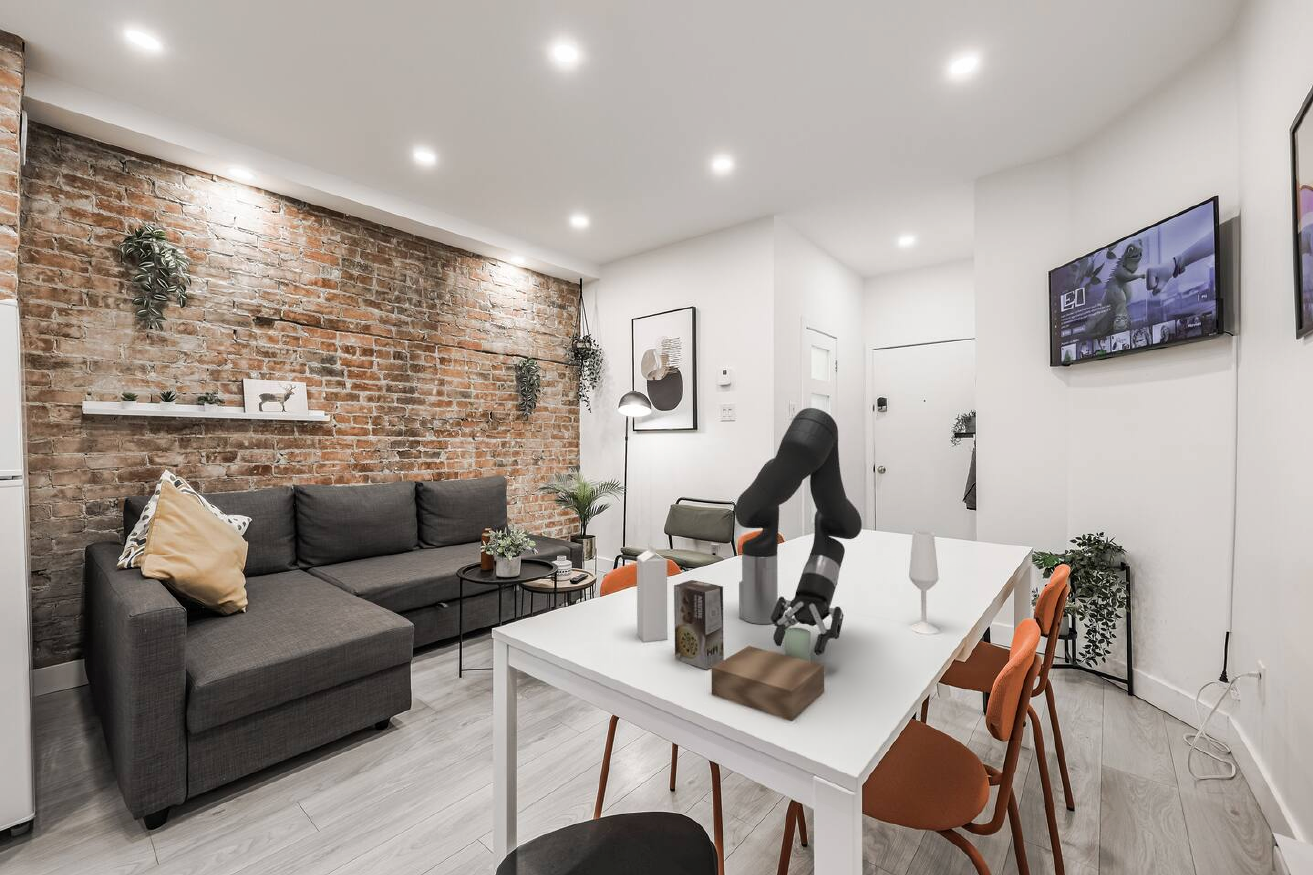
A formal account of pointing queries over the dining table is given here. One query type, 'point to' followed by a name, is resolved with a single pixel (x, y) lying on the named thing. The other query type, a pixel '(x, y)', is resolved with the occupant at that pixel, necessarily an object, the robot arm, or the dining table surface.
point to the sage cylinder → (797, 643)
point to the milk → (651, 596)
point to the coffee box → (698, 623)
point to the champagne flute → (923, 573)
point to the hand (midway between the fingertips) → (796, 649)
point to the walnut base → (768, 681)
